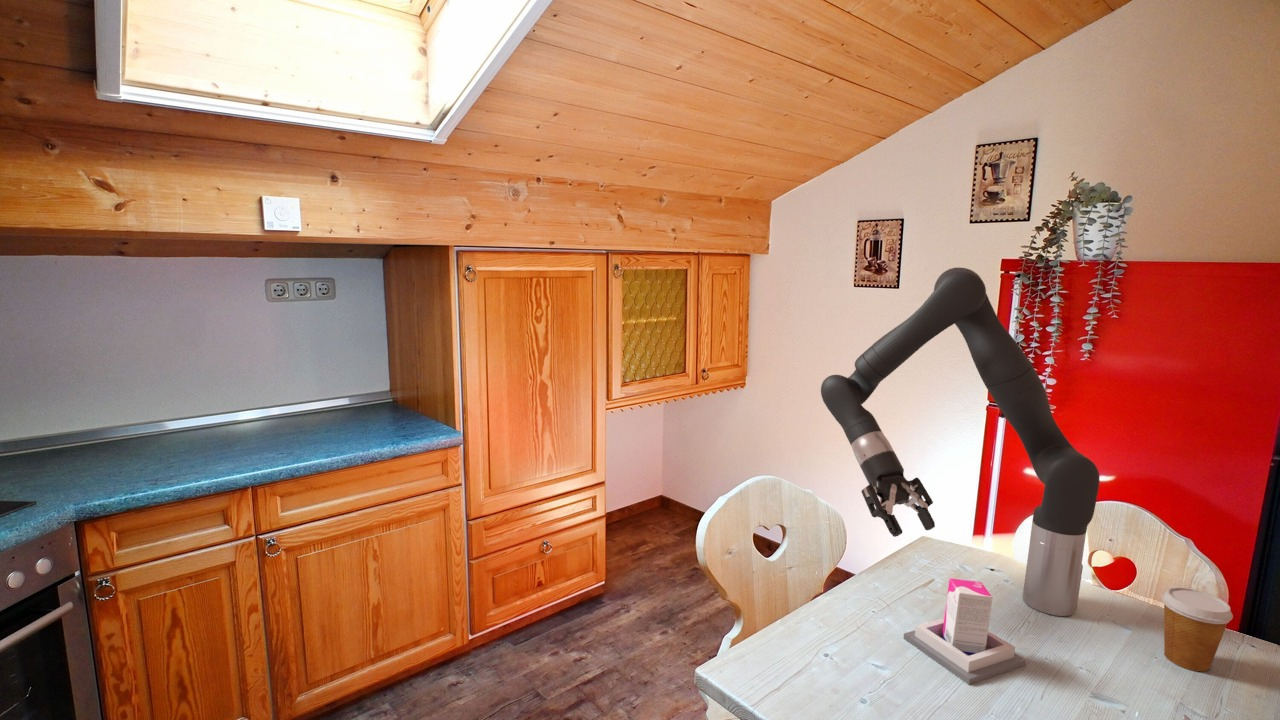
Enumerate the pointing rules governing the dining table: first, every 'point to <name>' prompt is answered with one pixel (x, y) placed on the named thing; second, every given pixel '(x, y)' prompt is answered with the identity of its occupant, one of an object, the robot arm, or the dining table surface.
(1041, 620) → the dining table surface
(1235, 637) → the dining table surface
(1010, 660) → the socket
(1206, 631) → the disposable coffee cup
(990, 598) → the supplement box
